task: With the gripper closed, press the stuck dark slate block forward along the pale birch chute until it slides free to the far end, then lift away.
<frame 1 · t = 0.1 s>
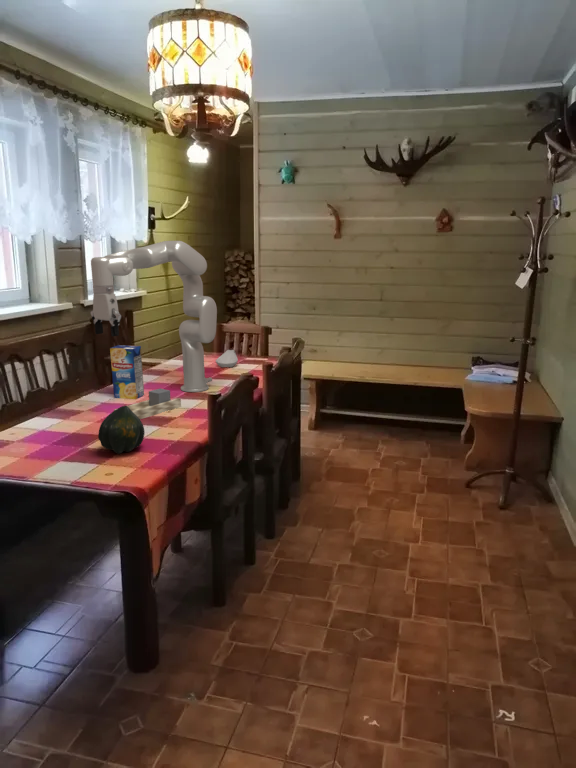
hand: (107, 334, 234), 31 cm above the table, tool pointing down, fingers open, 9 cm apart
birch chute: (148, 412, 241), on the table
slate block: (159, 398, 244), point 5 cm above the table, slide at 0.0 cm, touching birch chute
squash: (122, 449, 200), on the table
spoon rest: (228, 365, 328), on the table
beverage box: (129, 397, 264), on the table
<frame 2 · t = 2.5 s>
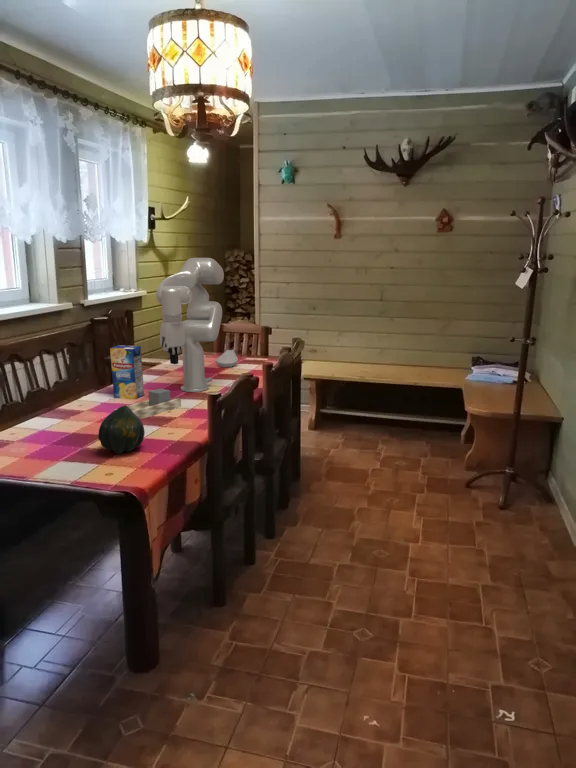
hand: (174, 363, 248), 17 cm above the table, tool pointing down, fingers closed
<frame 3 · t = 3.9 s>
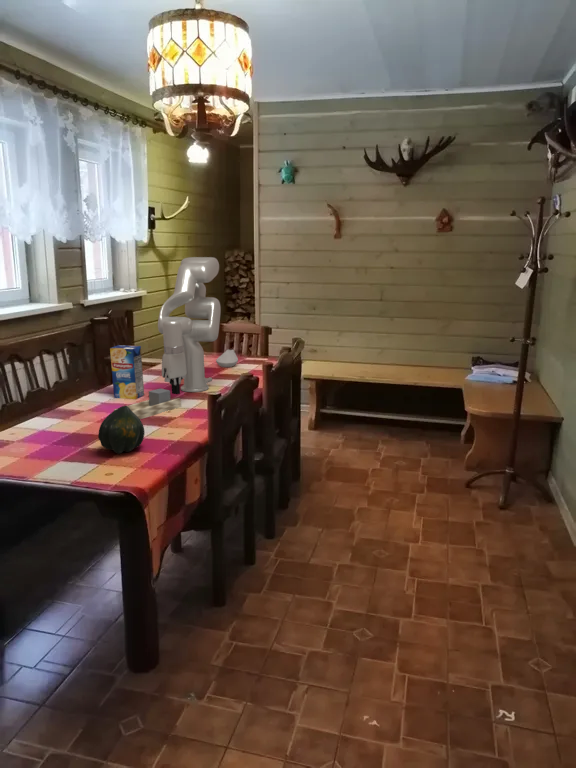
hand: (176, 393, 251), 5 cm above the table, tool pointing down, fingers closed
nothing on the table moved.
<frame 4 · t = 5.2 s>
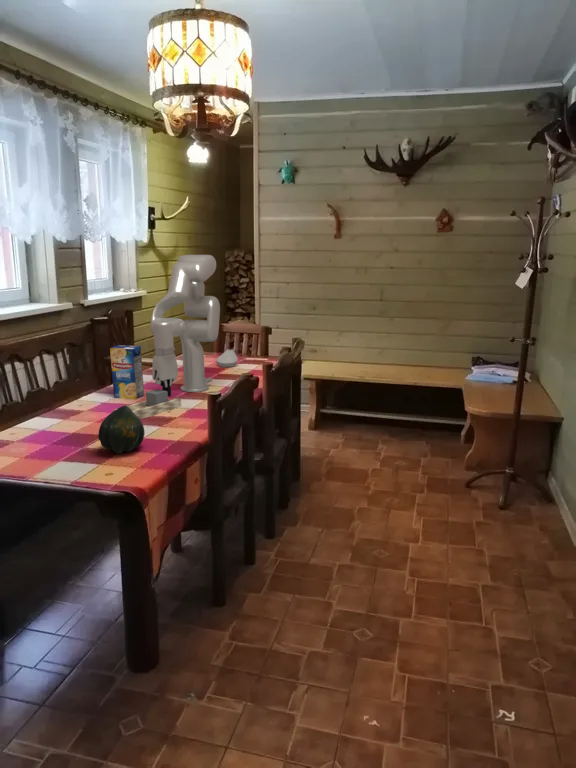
hand: (167, 395, 247), 5 cm above the table, tool pointing down, fingers closed
slate block: (157, 398, 243), point 5 cm above the table, slide at 1.4 cm, touching birch chute, gripper
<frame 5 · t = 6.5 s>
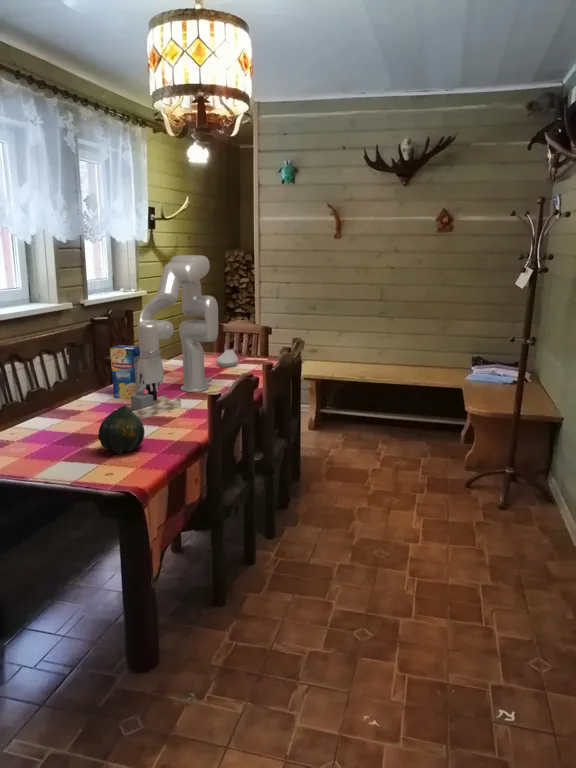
hand: (152, 399, 241), 5 cm above the table, tool pointing down, fingers closed
slate block: (142, 403, 237), point 5 cm above the table, slide at 8.9 cm, touching birch chute, gripper
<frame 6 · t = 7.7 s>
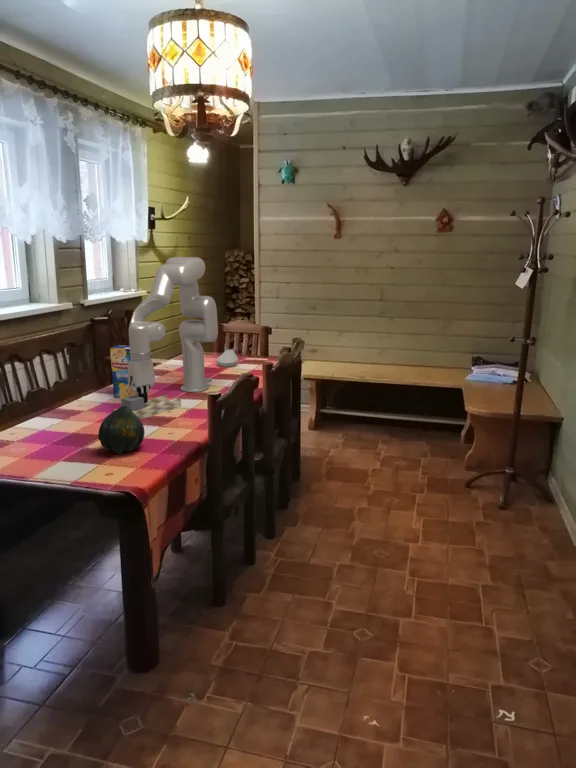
hand: (143, 402, 238), 5 cm above the table, tool pointing down, fingers closed
slate block: (132, 405, 234), point 5 cm above the table, slide at 13.5 cm, touching birch chute, gripper
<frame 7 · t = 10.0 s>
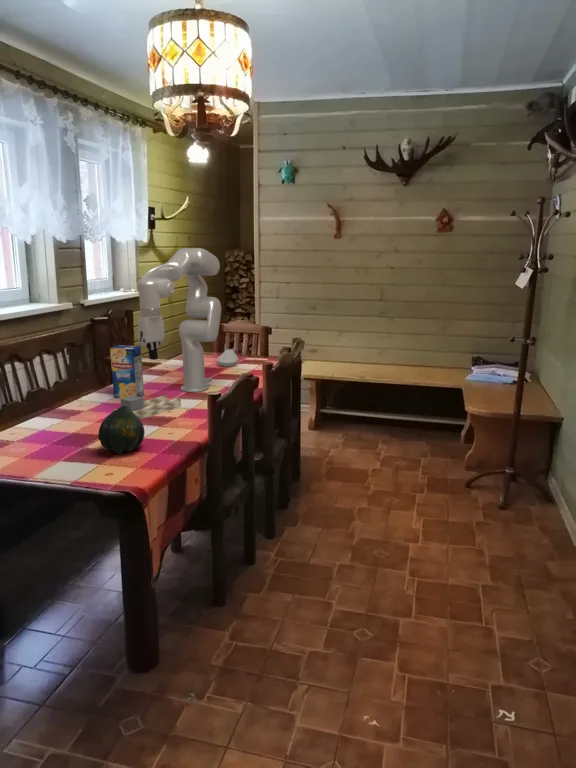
hand: (153, 359, 239), 21 cm above the table, tool pointing down, fingers closed
slate block: (132, 405, 234), point 5 cm above the table, slide at 13.8 cm, touching birch chute
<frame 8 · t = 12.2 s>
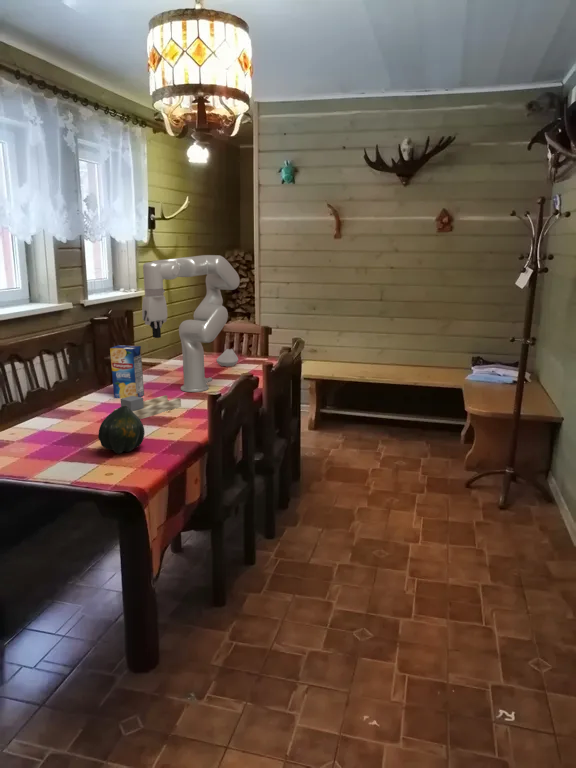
hand: (156, 337, 252), 27 cm above the table, tool pointing down, fingers closed
at the end: slate block slide at 13.8 cm; the gripper is holding nothing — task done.
